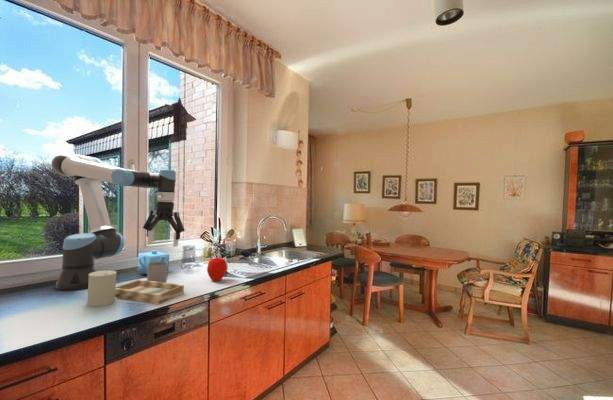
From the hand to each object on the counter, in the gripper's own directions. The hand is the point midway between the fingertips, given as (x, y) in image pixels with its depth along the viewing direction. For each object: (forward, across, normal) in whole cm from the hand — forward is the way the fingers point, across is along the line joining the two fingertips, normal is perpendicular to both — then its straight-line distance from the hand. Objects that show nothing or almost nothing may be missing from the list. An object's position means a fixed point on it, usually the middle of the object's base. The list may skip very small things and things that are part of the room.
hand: (162, 245), depth 139 cm
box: (+19, +4, -14) cm, 24 cm away
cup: (+20, -2, 0) cm, 20 cm away
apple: (+19, +22, +15) cm, 33 cm away
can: (+20, -6, -27) cm, 34 cm away
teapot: (+20, -14, +16) cm, 29 cm away
